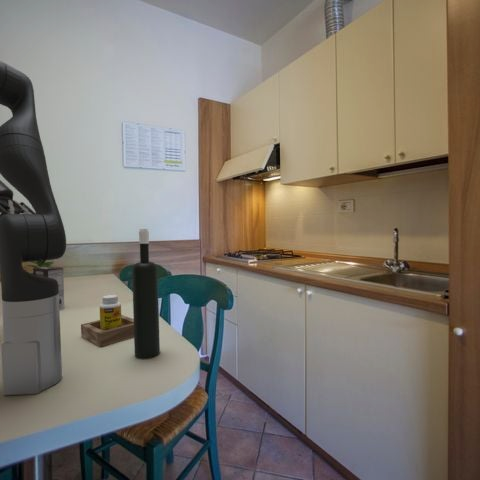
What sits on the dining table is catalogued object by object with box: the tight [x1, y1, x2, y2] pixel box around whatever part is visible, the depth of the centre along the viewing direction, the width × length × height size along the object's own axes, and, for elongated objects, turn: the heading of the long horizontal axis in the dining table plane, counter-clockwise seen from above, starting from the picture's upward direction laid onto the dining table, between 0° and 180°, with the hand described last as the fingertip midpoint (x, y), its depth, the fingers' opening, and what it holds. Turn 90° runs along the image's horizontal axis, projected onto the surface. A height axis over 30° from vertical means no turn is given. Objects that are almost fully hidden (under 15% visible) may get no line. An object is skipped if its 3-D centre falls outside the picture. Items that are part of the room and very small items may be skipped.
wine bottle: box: [131, 228, 161, 360], centre depth 73 cm, size 6×6×30 cm
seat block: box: [80, 314, 134, 348], centre depth 87 cm, size 12×12×4 cm
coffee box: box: [32, 265, 65, 311], centre depth 117 cm, size 9×6×16 cm
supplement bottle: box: [99, 294, 122, 331], centre depth 87 cm, size 6×6×10 cm
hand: (32, 228), depth 88 cm, fingers open, 8 cm apart
